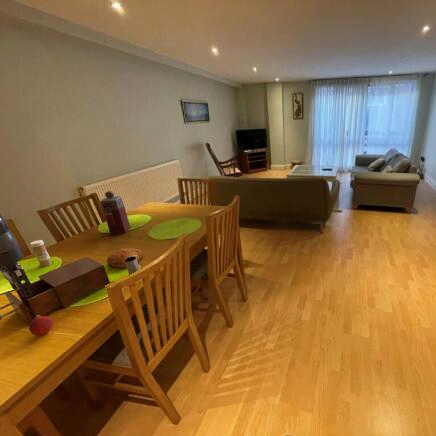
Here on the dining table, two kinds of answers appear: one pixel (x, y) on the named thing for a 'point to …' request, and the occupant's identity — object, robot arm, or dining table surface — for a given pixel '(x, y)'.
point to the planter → (131, 265)
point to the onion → (41, 325)
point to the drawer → (33, 301)
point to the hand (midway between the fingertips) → (23, 292)
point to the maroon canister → (115, 213)
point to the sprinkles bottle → (41, 253)
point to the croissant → (123, 257)
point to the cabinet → (76, 280)
